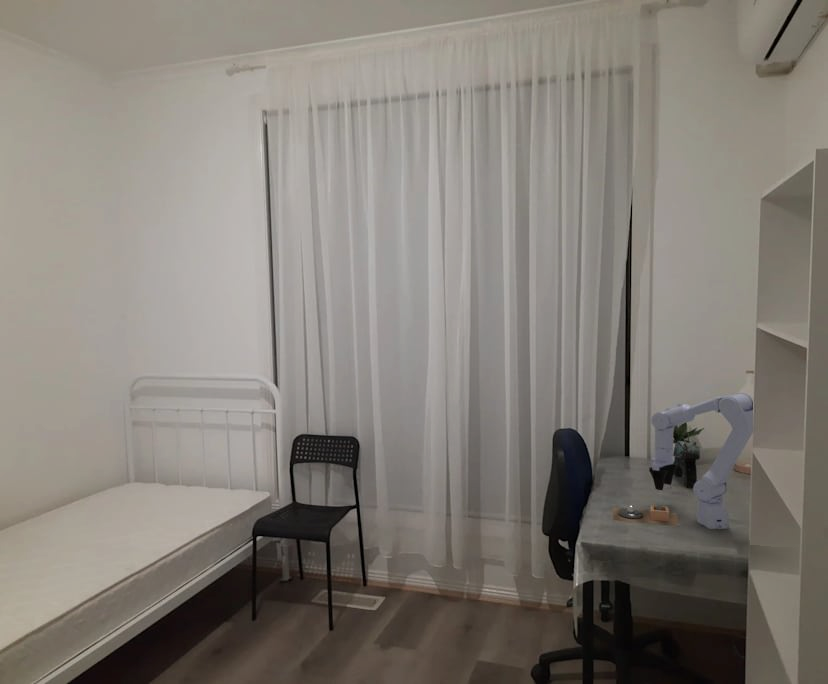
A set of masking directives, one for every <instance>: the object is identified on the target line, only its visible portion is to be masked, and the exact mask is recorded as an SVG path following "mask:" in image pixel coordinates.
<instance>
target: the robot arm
mask: <svg viewBox="0 0 828 684" xmlns="http://www.w3.org/2000/svg"><path fill="white" fill-rule="evenodd" d="M753 401H754V399H753V398H752V397H751V395H749V394H747V393H744V392H739V393H737V394H729V395H724V396H718V397H714V398H710V399H708V400H705V401H702V402H700V403H697V404H694V405H689V404H688V403H679V404H676V405H677V406H675V407H673V408H670V407H668V408H665V409H664V410H663V411H657V412H656V413H654V414H653V415H652V417H651V424H652V426H653V427H654V457H652V458H651V459H650V460H651V462H653V463H652V466H651V467H649V469H648V470H649V473H650V474H651V477H652V480H653V484H654V488H655V490H657V491H663V489H664V488H665V487H664V486H665V485H668V486H669V485H670V486H671V485H672V483H673V479H674V472H675V470H676V468H677V466H678V464H677V463H674V461H675V456H673V453H674V432H675V427H676V426H680V425H683V424H686V423H690V422H693V420H694V419H695V417H696V416H698V415H701V414H702V415H703V414H705V413H708V412H712V411H715V412H716V413H720V414H721V415H722V416H723V417H724V419H726V421H727V422H728V424H730V426H731V428H732V429H731V431H730V433H729V435H728V436H727V438H726V440H725V442H724V444H723V445H722V448H721V449H720V451H719V452H718V454H717V456H716V457H715V459H714V461H713V463H712V465H711V466H710V468H709V470H707V472H705V473H704V474H703V475H702V477H701V478H700V479H699V480H698V481H697V482H696V483H695V484H694V487H693V488H692V489H693V490H692V491H693V493H694V496H695V497H696V499H697V501H696V502H697V505H696V506H697V507H696V508H697V509H696V521H697V523H698V524H699V525H703V527H705V528H707V529H709V530H723V529H729V511H728V508H727V507H726V506H725V505H724V495H725V494H726V492H727V491H728V483H729V482H730V478H729V475H730V473H731V471H732V469H733V467H734V466H735V464H736V462H737V461H738V459H739V457H740V456H741V454H742V452H743V450H744V449H745V447H746V446H747V444H748V442H749V440H750V438H751V437H752V435H753V433H754V432H753Z"/></svg>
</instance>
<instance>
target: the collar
mask: <svg viewBox="0 0 828 684" xmlns="http://www.w3.org/2000/svg"><path fill="white" fill-rule="evenodd" d="M649 506H650V507H649V508H650V509H649V511H650V517H651V520H660V521H669V512H670V511H669V510H670V509H669V506H666V505H661V506H662V507H663V511H661V510H656V506H657V505H655V504H651V505H649Z"/></svg>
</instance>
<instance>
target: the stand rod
mask: <svg viewBox="0 0 828 684" xmlns="http://www.w3.org/2000/svg"><path fill="white" fill-rule="evenodd" d="M655 506H656V510H661V511H663V507H662V506H663V505H655Z"/></svg>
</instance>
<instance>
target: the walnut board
mask: <svg viewBox="0 0 828 684" xmlns="http://www.w3.org/2000/svg"><path fill="white" fill-rule="evenodd" d="M621 509H626V508H624V507H613V508H612V520H613V521H622V522H631V523H641V524H653V525H662V526H663V525H665V526H676V527H680V521H679V517H678V513H677V512H670V511H669V521H660V520H651V517H650V510H647V509H646V510H645V509H635V510H639V511H641V512H643V518H640V519H627V518H624V517H621V516H620V515H619V510H621Z"/></svg>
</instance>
